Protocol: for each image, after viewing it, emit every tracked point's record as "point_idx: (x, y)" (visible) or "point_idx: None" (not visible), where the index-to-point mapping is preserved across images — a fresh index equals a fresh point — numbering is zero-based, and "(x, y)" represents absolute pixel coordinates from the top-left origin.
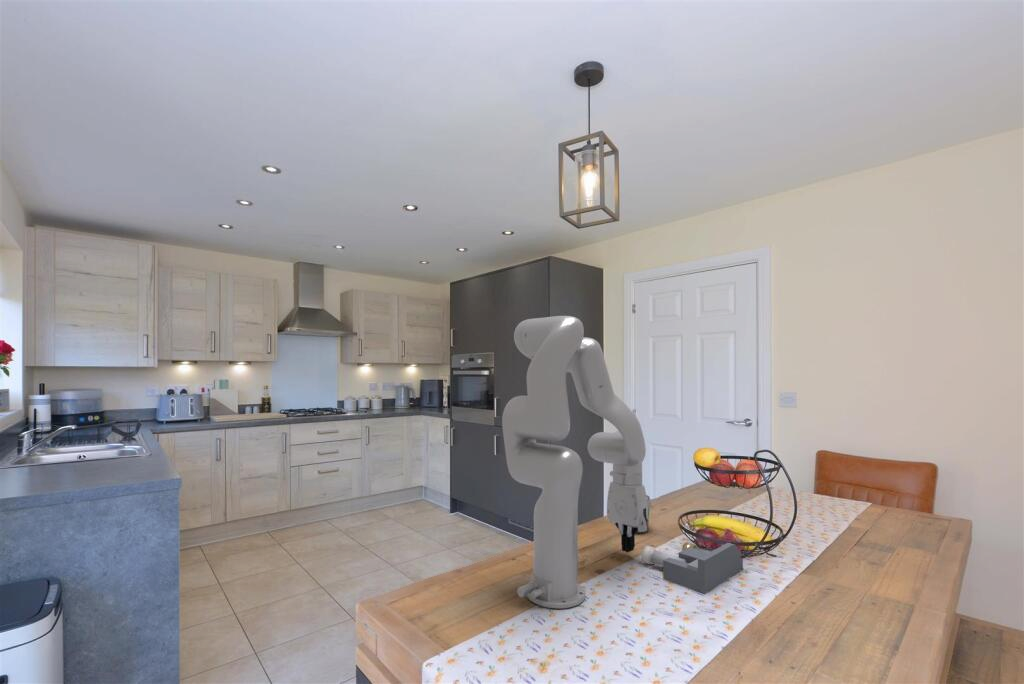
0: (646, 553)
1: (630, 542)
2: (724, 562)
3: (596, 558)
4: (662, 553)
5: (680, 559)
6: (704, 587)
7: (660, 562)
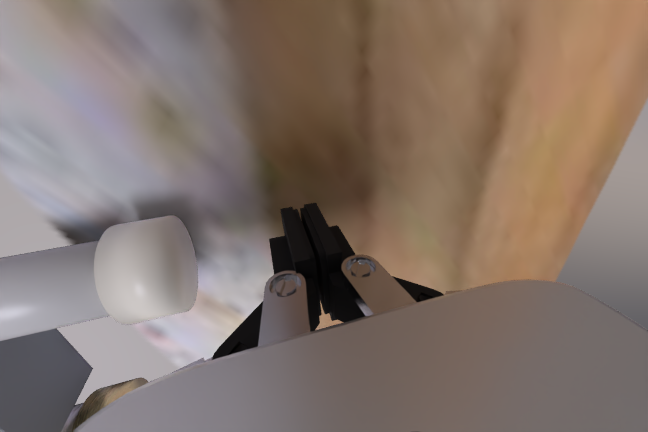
0: (112, 247)
1: (277, 257)
2: None
3: (386, 58)
4: (12, 317)
5: None
6: None
7: (19, 256)
